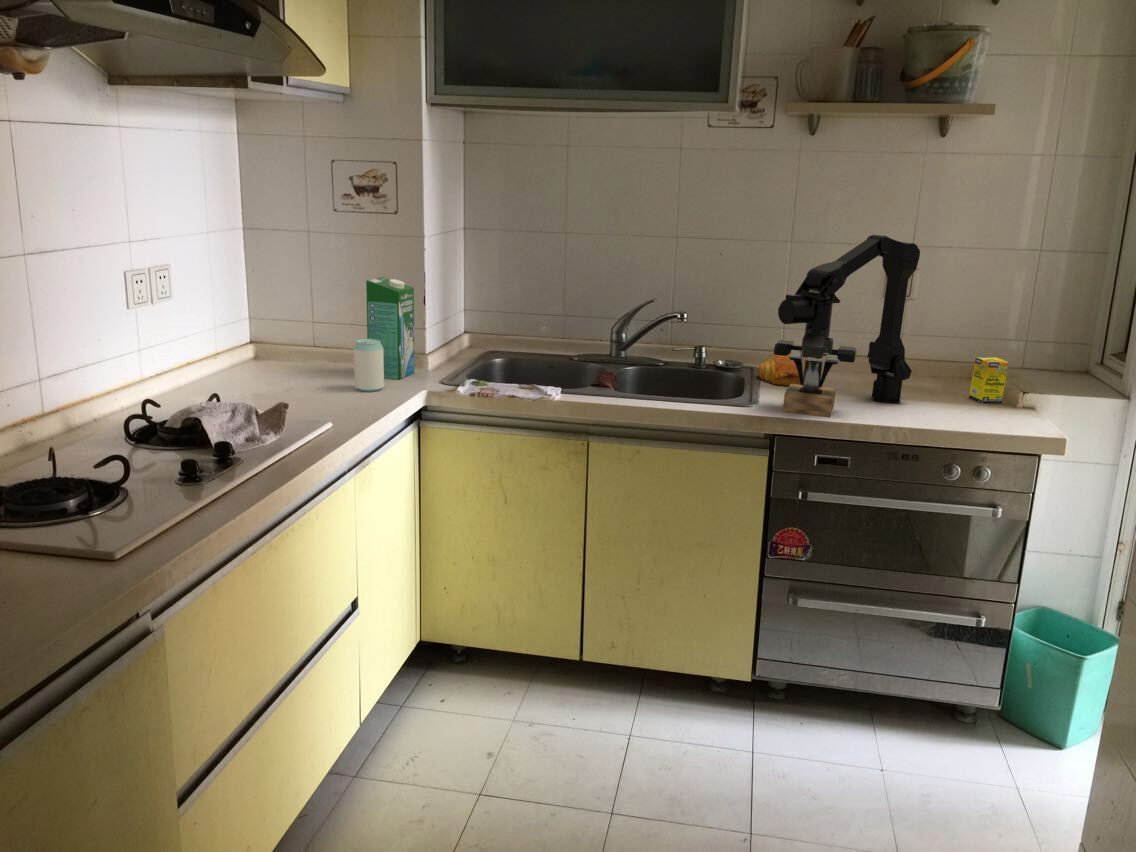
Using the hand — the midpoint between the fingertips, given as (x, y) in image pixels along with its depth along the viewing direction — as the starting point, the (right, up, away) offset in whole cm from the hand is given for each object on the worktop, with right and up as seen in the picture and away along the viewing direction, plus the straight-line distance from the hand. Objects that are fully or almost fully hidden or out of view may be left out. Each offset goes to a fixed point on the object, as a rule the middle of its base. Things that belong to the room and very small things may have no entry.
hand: (811, 386), depth 231 cm
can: (-108, -1, +5) cm, 108 cm away
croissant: (+1, +2, +31) cm, 31 cm away
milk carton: (-105, +4, +20) cm, 107 cm away
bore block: (0, -5, +2) cm, 6 cm away
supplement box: (+49, -3, +17) cm, 52 cm away
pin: (0, -3, +1) cm, 4 cm away
